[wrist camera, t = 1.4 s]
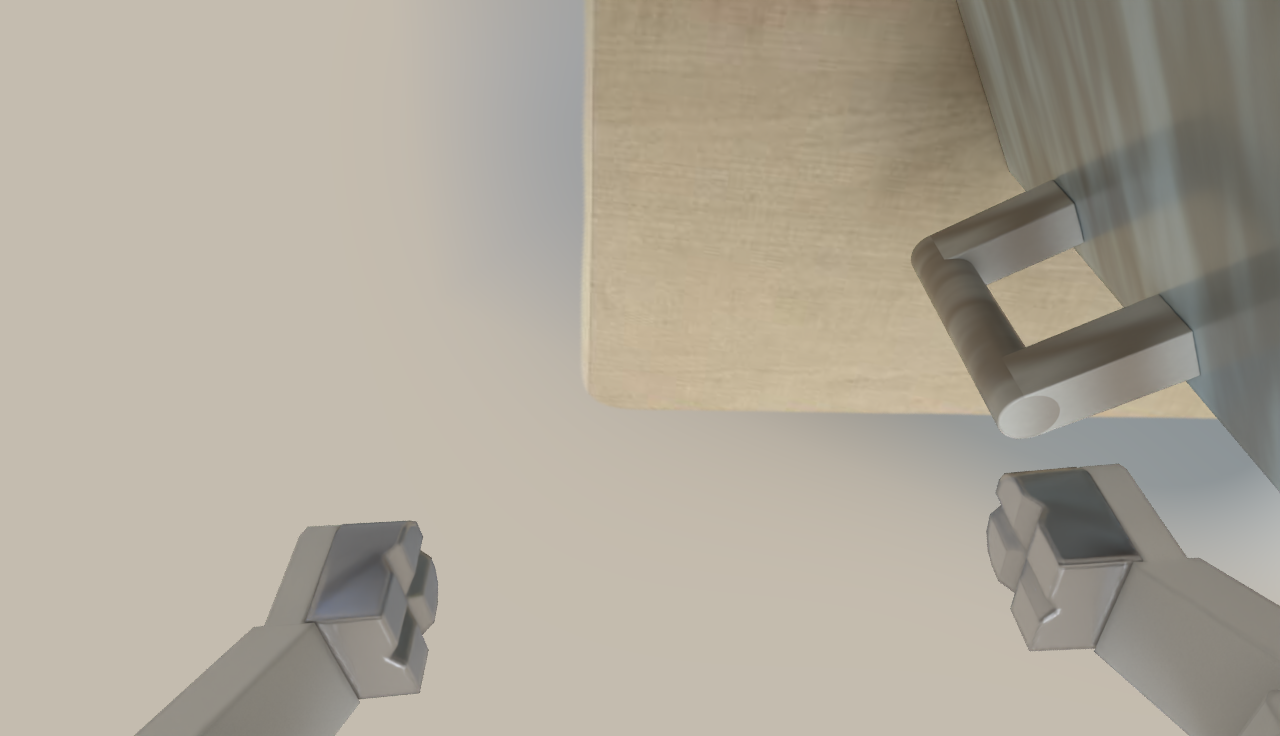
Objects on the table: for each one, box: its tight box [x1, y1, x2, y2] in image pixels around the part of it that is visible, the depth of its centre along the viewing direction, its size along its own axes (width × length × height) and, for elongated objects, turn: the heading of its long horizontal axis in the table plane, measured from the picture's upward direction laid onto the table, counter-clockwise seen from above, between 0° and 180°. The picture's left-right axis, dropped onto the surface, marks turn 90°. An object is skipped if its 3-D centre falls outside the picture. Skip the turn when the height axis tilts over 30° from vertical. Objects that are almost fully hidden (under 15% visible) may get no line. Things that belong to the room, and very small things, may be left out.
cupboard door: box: [911, 0, 1280, 492], centre depth 24 cm, size 7×26×24 cm, turn 30°
